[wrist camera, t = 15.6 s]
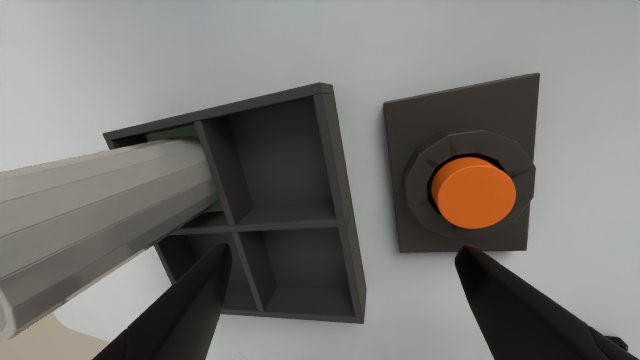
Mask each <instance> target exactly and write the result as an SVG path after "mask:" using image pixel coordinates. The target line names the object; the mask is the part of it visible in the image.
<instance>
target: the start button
mask: <svg viewBox="0 0 640 360" xmlns="http://www.w3.org/2000/svg"><path fill="white" fill-rule="evenodd" d="M431 192H432V196H433V199H434V201H435V203H436V205H437V207H438V209H439V211H440V213H441V214H442V215H443V217H444V218H445V219H446V220H448V221H449V222H450V223H452V224H454V225H456V226H459V227H463V228H469V229H477V228H484V227H488V226H491V225H493V224H495V223H497V222H499V221H500V220H502V219H503V218H504V217H505V216H506V215H507V214H508V213H509V212H510V210H511V209H512V207H513V205H514V202H515V198H516V190H515V186H514V184H513V182H512V180H511V178H510V177H509V176H508V175H507V174H506V173H504V172H503V171H501V170H500V169H498V168H497V167H495V166H493V165H492V164H490V163H489V162H487V161H485V160H483V159H479V158H474V157H465V158H459V159H456V160H453V161H451V162H449V163H447V164H446V165H444V166H443V167H442V168H441V169H440V170H439V171H438V172H437V173H436V175H435V177H434V179H433V181H432V186H431Z"/></svg>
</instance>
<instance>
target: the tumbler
mask: <svg viewBox="0 0 640 360" xmlns="http://www.w3.org/2000/svg"><path fill="white" fill-rule="evenodd" d="M219 201H220V198H219V195H218V192H217V189H216V186H215V183H214V181H213V178H212V175H211V172H210V169H209V166H208V163H207V160H206V157H205V154H204V151H203V149H202V146H201V143H200V140H199V138H198V137H195V136H176V137H171V138H167V139H162V140H157V141H152V142H147V143H142V144H137V145H132V146H127V147H122V148H117V149H112V150H107V151H103V152H98V153H93V154H88V155H83V156H78V157H73V158H68V159H63V160H58V161H53V162H48V163H43V164H39V165H34V166H29V167H24V168H19V169H14V170H9V171H4V172H0V340H10V339H12V338H13V337H15V336H16V335H18V334H19V333H21V332H22V331H24V330H26V329H27V328H29V327H30V326H31V325H33V324H34V323H36V322H38V321H39V320H40V319H42V318H44V317H45V316H47V315H48V314H50V313H51V312H53V311H54V310H56V309H57V308H59V307H60V306H62V305H63V304H65V303H66V302H68V301H69V300H71V299H73V298H74V297H76V296H77V295H79V294H80V293H82V292H83V291H85V290H86V289H88V288H89V287H91V286H92V285H94V284H95V283H97V282H98V281H100V280H101V279H103V278H104V277H106V276H107V275H109V274H110V273H112V272H113V271H115V270H117V269H118V268H120V267H121V266H123V265H124V264H126V263H127V262H129V261H130V260H132V259H133V258H135V257H136V256H138V255H139V254H141V253H142V252H144V251H145V250H147V249H148V248H150V247H151V246H153V245H154V244H156V243H157V242H159V241H161V240H162V239H164V238H165V237H167V236H168V235H170V234H171V233H173V232H174V231H176V230H177V229H179V228H180V227H182V226H183V225H185V224H186V223H188V222H189V221H191V220H192V219H194V218H195V217H197V216H198V215H200V214H201V213H203V212H204V211H206V210H208V209H209V208H211V207H212V206H213V205H214V204H216V203H217V202H219Z"/></svg>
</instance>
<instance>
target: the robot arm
mask: <svg viewBox="0 0 640 360" xmlns="http://www.w3.org/2000/svg"><path fill="white" fill-rule="evenodd" d="M232 262H233V258H232V254H231V250H230V246H229V244H227V243H218V244H216V245H215V246H214V247H213V248H212V249H211V250H209V251H208V252H207V253H206V254H205V255H204V256H203V257H202V258H201V259H200V260H199V261H198V262H197V263H196V264H194V265H193V266H192V267H191V268H190V269H189V270H188V271H187V272H186V273H185V274H184V275H183V276H182V277H181V278H180V279H178V280H177V281H176V282H175V283H174V284H173V285H172V286H171V287H170V288H169V289H168V290H167V291H166V292H165V293H163V294H162V295H161V296H160V297H159V298H158V299H157V300H156V301H155V302H154V303H153V304H152V305H151V306H150V307H149V308H147V309H146V310H145V311H144V312H143V313H142V314H141V315H140V316H139V317H138V318H137V319H136V320H135V321H134V322H132V323H131V324H130V325H129V326H128V328H127V329H125V330H124V331H123V332H122V333H121V334H120V335H118V336H117V337H116V338H115V339H114V340H113V341H112V342H111V343H110V344H109V345H108V346H107V347H105V348H104V349H103V350H102V351H101V352H100V353H99V354H98V355H97V356H96V357H94V358H93V359H92V360H205V359H206V356H207V353H208V350H209V347H210V344H211V341H212V338H213V335H214V332H215V329H216V326H217V323H218V320H219V316H220V313H221V310H222V307H223V304H224V300H225V295H226V290H227V286H228V281H229V277H230V272H231V267H232ZM455 267H456V269H457V272H458V275H459V278H460V281H461V284H462V286H463V289H464V292H465V295H466V298H467V300H468V303H469V305H470V308H471V310H472V312H473V314H474V316H475V318H476V321H477V323H478V325H479V327H480V329H481V331H482V334H483V336H484V338H485V340H486V342H487V344H488V347H489V349H490V351H491V353H492V355H493V357H494V359H495V360H639V359H638V358H636V357H634V356H633V355H631V354H630V353H628V352H627V351H628V345H627V344H626V343H625V342H624V341H623V340H622V339H620V338H618V337H609V336H603V335H602V334H601V333H599V332H598V331H596V330H595V329H593V328H592V327H590V326H588V325H587V324H586V323H585V322H583V321H582V320H580V319H579V318H577V317H576V316H575V315H573V314H572V313H570V312H569V311H567V310H566V309H564V308H563V307H562V306H560V305H559V304H557V303H556V302H554V301H553V300H552V299H550V298H549V297H547V296H546V295H544V294H543V293H541V292H540V291H539V290H537V289H536V288H534V287H533V286H531V285H530V284H529V283H527V282H526V281H524V280H523V279H521V278H520V277H518V276H517V275H516V274H514V273H513V272H511V271H510V270H508V269H507V268H505V267H504V266H503V265H501V264H500V263H498V262H497V261H495V260H494V259H493V258H491V257H490V256H488V255H487V254H485V253H484V252H482V251H481V250H480V249H478V248H477V247H475V246H471V245H464V246H462V247H461V248H460V250H459V252H458V254H457V256H456V258H455Z"/></svg>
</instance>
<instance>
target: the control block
mask: <svg viewBox="0 0 640 360" xmlns="http://www.w3.org/2000/svg"><path fill="white" fill-rule="evenodd" d="M539 78H540V74H539V73H534V74H527V75H521V76H516V77H511V78H506V79H501V80H496V81H491V82H485V83H480V84H475V85H470V86H465V87H460V88H454V89H449V90H444V91H439V92H434V93H429V94H424V95H418V96H413V97H408V98H403V99H398V100H393V101H387V102H384V113H385V122H386V131H387V140H388V149H389V159H390V168H391V177H392V186H393V195H394V204H395V214H396V223H397V232H398V241H399V250H400V252H401V253H405V252H459V250H460V248H461V247H462V246H464V245H471V246H475V247H477V248H478V249H480V250H481V251H526V250H527V239H528V226H529V212H530V201H531V200H532V198H533V196H534V183H535V171H536V168H535V166H534V164H533V159H534V145H535V132H536V119H537V105H538V92H539ZM465 157H474V158H479V159H483V160H485V161H487V162H489V163H490V164H492V165H493V166H495V167H497V168H498V169H500V170H501V171H503V172H504V173H506V174H507V175H508V176H509V177H510V178H511V180H512V182H513V184H514V186H515V190H516V198H515V202H514V205H513V207H512V209H511V210H510V212H509V213H508V214H507V215H506V216H505V217H504V218H503V219H502V220H500V221H499V222H497V223H495V224H493V225H491V226H488V227H484V228H477V229H469V228H463V227H459V226H456V225H454V224H452V223H450V222H449V221H448V220H446V219H445V218H444V217H443V215H442V214H441V213H440V211H439V209H438V207H437V205H436V203H435V201H434V199H433V196H432V192H431V186H432V181H433V179H434V177H435V175H436V173H437V172H438V171H439V170H440V169H441V168H442V167H443V166H444V165H446V164H447V163H449V162H451V161H453V160H456V159H459V158H465Z"/></svg>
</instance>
